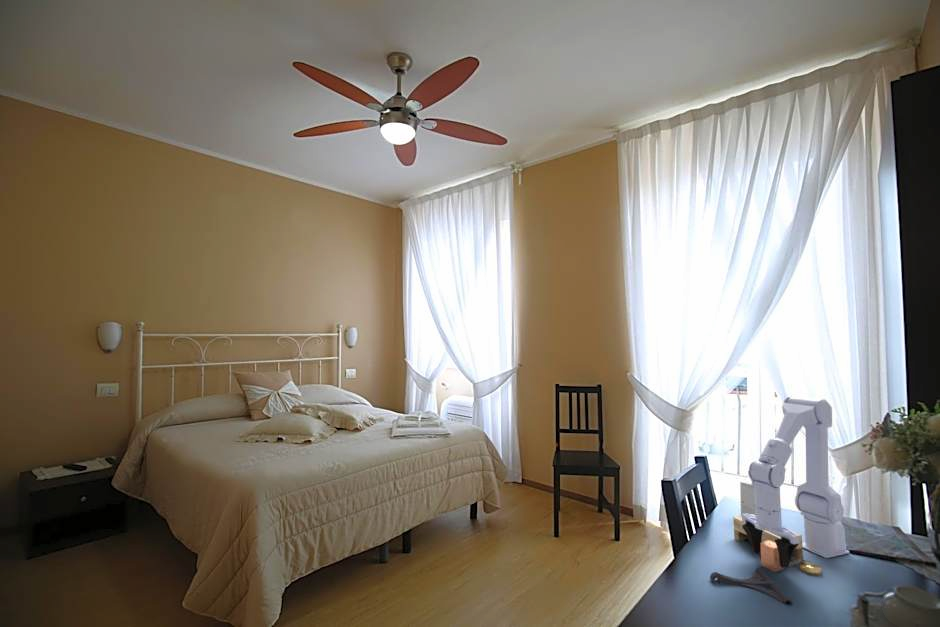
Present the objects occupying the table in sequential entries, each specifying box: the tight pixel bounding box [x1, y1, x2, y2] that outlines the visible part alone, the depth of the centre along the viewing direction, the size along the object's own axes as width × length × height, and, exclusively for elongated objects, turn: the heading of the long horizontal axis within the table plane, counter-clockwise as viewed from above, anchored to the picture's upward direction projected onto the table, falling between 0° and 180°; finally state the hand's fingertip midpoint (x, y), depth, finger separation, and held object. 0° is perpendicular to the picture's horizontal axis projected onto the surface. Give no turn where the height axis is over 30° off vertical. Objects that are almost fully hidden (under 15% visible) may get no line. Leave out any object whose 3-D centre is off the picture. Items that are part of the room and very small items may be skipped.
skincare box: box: [739, 478, 756, 516], centre depth 144 cm, size 6×4×12 cm
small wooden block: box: [760, 540, 803, 573], centre depth 116 cm, size 12×4×6 cm, turn 112°
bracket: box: [709, 566, 793, 605], centre depth 106 cm, size 14×15×3 cm
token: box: [799, 560, 822, 576], centre depth 112 cm, size 4×4×2 cm
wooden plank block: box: [732, 514, 804, 560], centre depth 124 cm, size 8×15×6 cm, turn 17°
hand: (770, 559), depth 114 cm, fingers open, 7 cm apart
